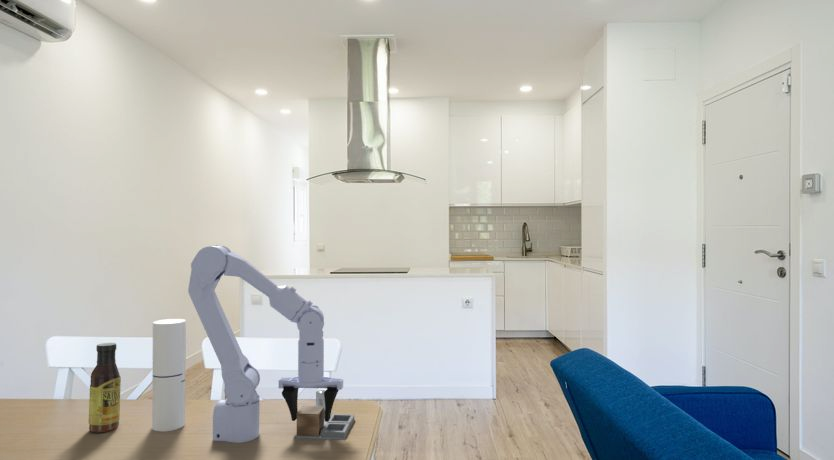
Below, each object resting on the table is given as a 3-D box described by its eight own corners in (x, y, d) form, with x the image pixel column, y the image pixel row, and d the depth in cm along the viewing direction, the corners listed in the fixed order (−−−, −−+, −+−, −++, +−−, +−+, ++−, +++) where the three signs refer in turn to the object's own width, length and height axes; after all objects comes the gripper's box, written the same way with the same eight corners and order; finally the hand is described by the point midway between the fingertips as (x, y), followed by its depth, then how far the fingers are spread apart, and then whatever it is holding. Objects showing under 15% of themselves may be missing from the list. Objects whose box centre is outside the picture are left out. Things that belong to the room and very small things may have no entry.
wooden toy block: (296, 435, 116) (296, 413, 116) (303, 427, 121) (303, 405, 121) (318, 436, 116) (318, 414, 116) (324, 428, 121) (324, 406, 121)
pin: (314, 416, 131) (314, 393, 131) (317, 413, 134) (317, 389, 134) (325, 417, 131) (325, 393, 131) (327, 413, 134) (327, 390, 134)
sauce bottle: (105, 435, 119) (105, 348, 119) (81, 432, 120) (82, 346, 120) (126, 424, 125) (127, 342, 125) (104, 422, 127) (104, 340, 127)
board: (295, 442, 115) (295, 426, 116) (310, 422, 127) (310, 407, 127) (344, 443, 115) (344, 427, 115) (354, 423, 127) (354, 409, 127)
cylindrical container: (145, 428, 123) (146, 322, 123) (172, 418, 130) (172, 317, 130) (165, 433, 120) (166, 325, 120) (191, 423, 126) (192, 320, 126)
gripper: (346, 356, 122) (346, 414, 122) (285, 355, 123) (285, 412, 123) (339, 364, 115) (339, 425, 115) (275, 363, 116) (275, 423, 116)
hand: (311, 419), depth 119 cm, fingers open, 7 cm apart
